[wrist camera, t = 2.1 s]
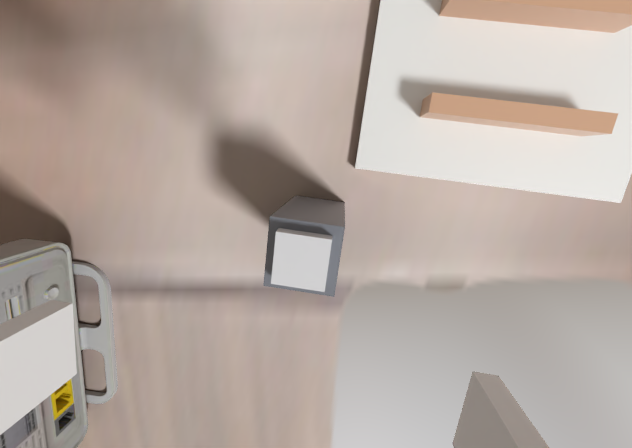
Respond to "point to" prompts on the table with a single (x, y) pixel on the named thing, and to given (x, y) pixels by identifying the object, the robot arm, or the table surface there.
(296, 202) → the connector plug
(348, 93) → the table surface
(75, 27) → the table surface
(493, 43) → the end holder
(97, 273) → the network device
